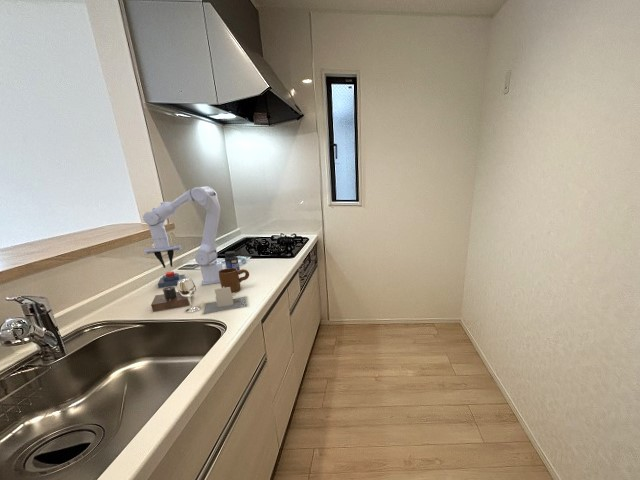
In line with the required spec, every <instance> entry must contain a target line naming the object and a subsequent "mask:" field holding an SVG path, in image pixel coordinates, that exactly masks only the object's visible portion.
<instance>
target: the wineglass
mask: <svg viewBox="0 0 640 480" xmlns="http://www.w3.org/2000/svg"><path fill="white" fill-rule="evenodd" d="M176 286H177V287H176V288H177V292H179V294H180V295H181V296H183V297H188V300H189V302H190V305H189V306H190V307H189V308H187V309H186V310H185V312H186V313H193V312H194V313H195V312H197V311H199V310H200V308H199V307H197V306H193V303H192V296H194V295H195V294H196V293H197V287H196V284H195V282H194V280H193V279H192V278H186V279H182V280H179V281H178V282H177V285H176ZM190 296H191V297H190Z"/></svg>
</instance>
